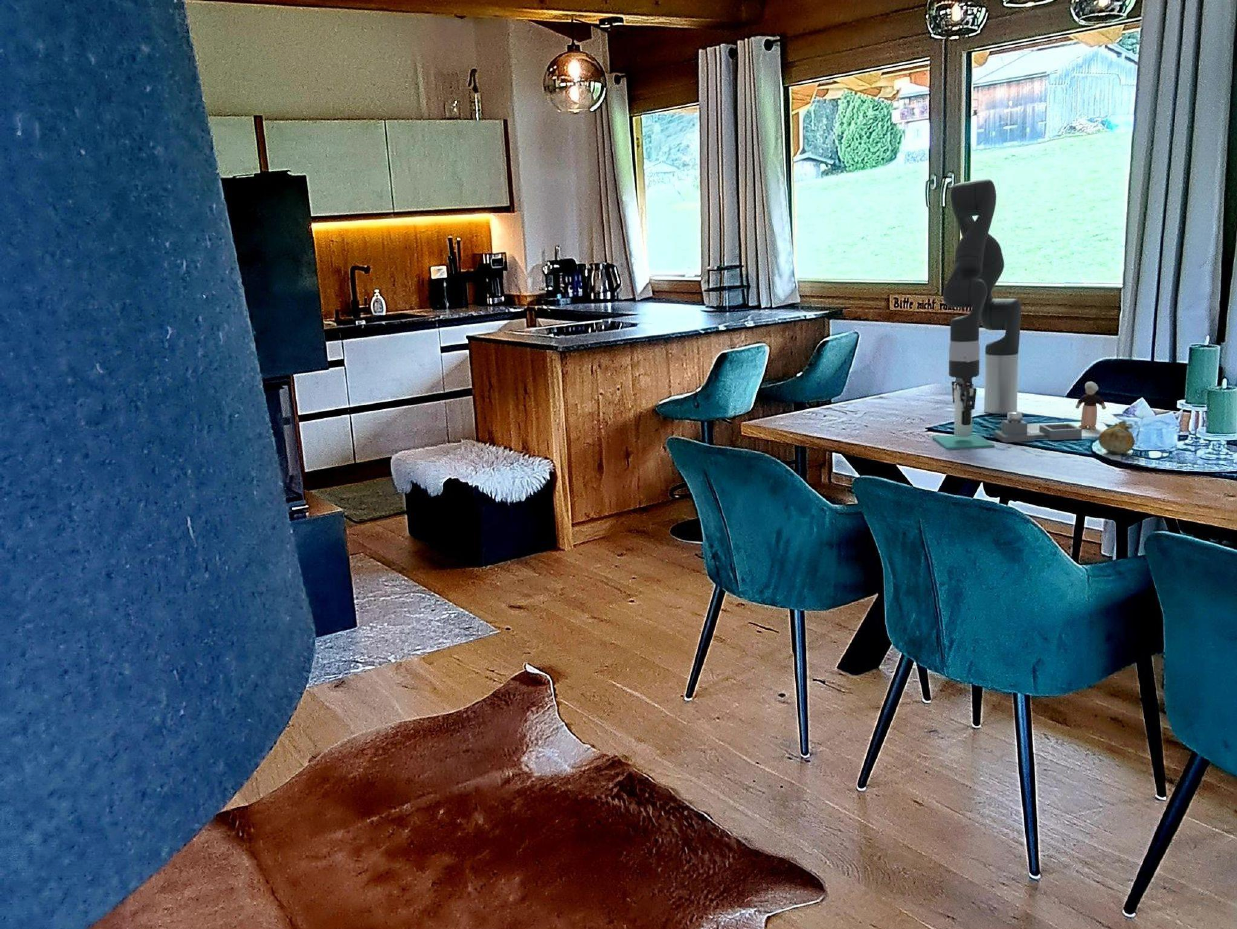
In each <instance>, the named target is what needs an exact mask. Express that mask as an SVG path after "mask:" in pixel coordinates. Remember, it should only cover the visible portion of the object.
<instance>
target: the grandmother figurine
mask: <svg viewBox="0 0 1237 929" xmlns="http://www.w3.org/2000/svg"><path fill="white" fill-rule="evenodd" d="M1084 388H1085V393H1086V394H1083V395H1082V396H1081V397H1080V398H1079V399H1078V400H1077V402H1076V405H1075V409H1080V407H1081V405H1082V404H1083V405H1082V411H1081V418H1080V424H1079V425H1078V427H1079V428H1081V429H1088V430H1096V429H1097V427H1096V425H1097V420H1098V407H1097V405H1099V406H1100V407H1101V409H1102V410H1106V409H1107V406H1106V404H1105V401H1104V399H1102V398H1101V397H1100V396H1099V395H1096V392H1097V391H1098V390H1099V386H1098V384H1096V382H1093V381H1087V382H1086V383H1085V385H1084Z"/></svg>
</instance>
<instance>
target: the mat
mask: <svg viewBox="0 0 1237 929" xmlns="http://www.w3.org/2000/svg"><path fill="white" fill-rule="evenodd" d="M932 440H933V441H935V442H937V443H938V444H939V445H940V446H941V447H943V448H944V449H945V450H948V451H949V450H951V451H953V450H966V449H967V450H969V449H971V450H972V449H986V448H995V446H996V445H995V444H994V443H992V442H991V441H989V440H988V439H986V438H984V437H983V436H981V435H980V434H977V433H976V434H973V433H972V436H970V437H957V436H954V434H953V435H937V436H935V435H934V436H932Z"/></svg>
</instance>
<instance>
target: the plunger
mask: <svg viewBox="0 0 1237 929" xmlns="http://www.w3.org/2000/svg"><path fill="white" fill-rule="evenodd" d="M1006 414H1007V417H1006V420H1007V421H1011V423H1018V421H1022V420H1023V412H1022V411H1016V412H1008V413H1006Z"/></svg>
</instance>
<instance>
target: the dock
mask: <svg viewBox="0 0 1237 929" xmlns="http://www.w3.org/2000/svg"><path fill="white" fill-rule="evenodd" d="M1082 435H1083V428H1079V426H1076V425H1075V424H1072V423H1070V422H1069V423H1068V422H1067V423H1066V422H1065V423H1064V422H1063V423H1049V424H1048V423H1047V424H1046V423H1045V424H1039V426H1038V432H1030V431H1028V422H1026V421H1025V420H1023V419H1022V421H1018V423H1011V421H1007V419H1006V420H1005V419H1004V420H1003V419H1002V420H1001V430H993V437H994V438H995V439H997V440H999V441H1001V442H1002V443H1021V442H1023V443H1024V442H1035V441H1036V439H1037V440H1038V439H1039V440H1040V439H1047V440H1049V441H1056V440H1057V441H1058V440H1059V441H1060V440H1061V441H1062V440H1074V439H1075V440H1076V439H1082V438H1083V437H1082Z"/></svg>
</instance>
